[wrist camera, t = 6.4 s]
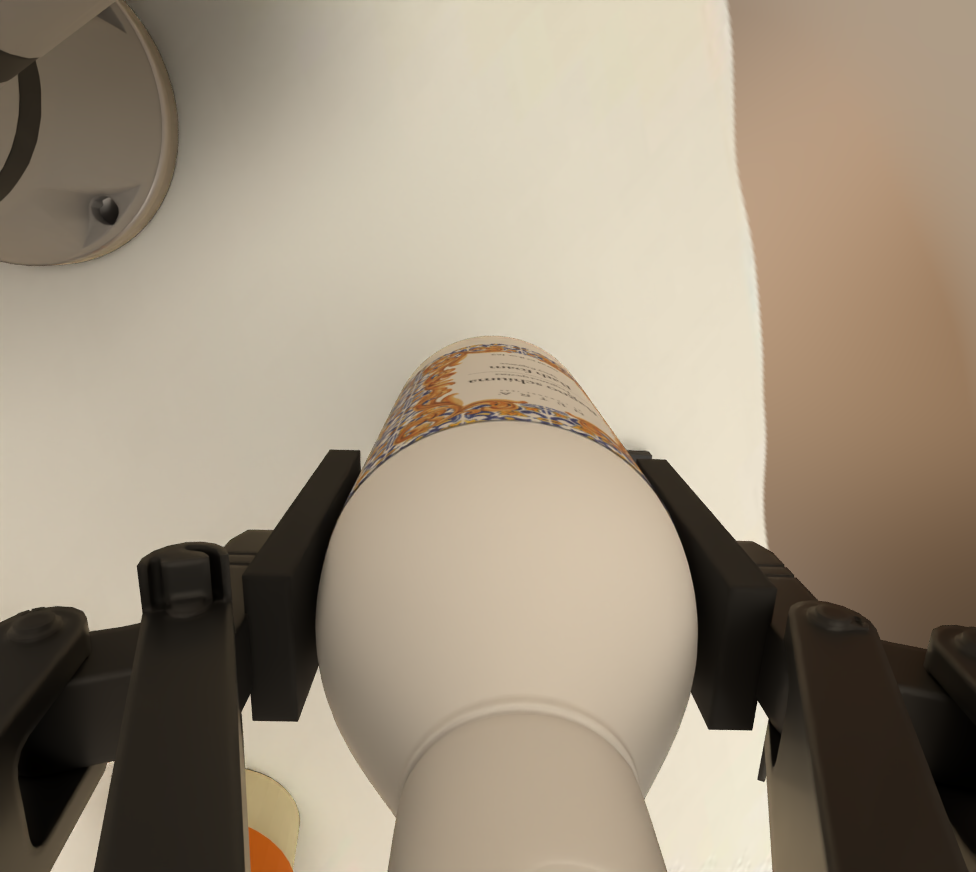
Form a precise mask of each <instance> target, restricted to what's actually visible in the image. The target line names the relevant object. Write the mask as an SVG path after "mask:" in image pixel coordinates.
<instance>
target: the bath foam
mask: <svg viewBox="0 0 976 872" xmlns="http://www.w3.org/2000/svg"><path fill="white" fill-rule="evenodd" d="M315 631H316V648H317V657H318V663H319V668H320V674H321V679H322V683H323V687H324V691H325V694H326V698H327V700H328V703H329V706H330V708H331V711H332V714H333V717H334V719H335V722H336V724H337V726H338V728H339V730H340V732H341V734H342V736H343V738H344V740H345V742H346V744H347V746H348V748H349V750H350V751H351V753H352V755H353V757H354V758H355V760H356V761H357V763H358V764H359V766H360V768H361V769H362V771H363V772H364V774H365V775H366V777H367V778H368V780H369V781H370V782H371V784H372V785H373V787H374V788H375V789H376V791H377V792H378V794H379V795H380V796H381V798H382V799H383V801H384V802H385V803H386V805H387V806H388V807H389V809H390V810H391V811H392V813H393V814H394V815H395V817H396V823H395V828H394V834H393V840H392V847H391V853H390V860H389V866H388V872H667V870H666V866H665V863H664V860H663V857H662V853H661V850H660V847H659V844H658V841H657V837H656V834H655V831H654V828H653V825H652V822H651V818H650V815H649V813H648V810H647V807H646V804H645V801H644V799H645V797H646V795H647V793H648V791H649V790H650V788H651V786H652V784H653V782H654V780H655V778H656V776H657V774H658V772H659V770H660V768H661V766H662V764H663V762H664V760H665V758H666V756H667V754H668V752H669V750H670V748H671V746H672V743H673V741H674V739H675V737H676V734H677V732H678V729H679V727H680V724H681V721H682V718H683V715H684V712H685V710H686V707H687V704H688V700H689V697H690V692H691V688H692V683H693V678H694V673H695V667H696V660H697V642H698V620H697V609H696V599H695V592H694V587H693V582H692V578H691V573H690V569H689V565H688V562H687V558H686V555H685V552H684V549H683V546H682V544H681V541H680V539H679V536H678V533H677V531H676V528H675V525H674V523H673V521H672V518H671V516H670V514H669V512H668V510H667V508H666V507H665V505H664V503H663V502H662V500H661V498H660V497H659V495H658V494H657V493H656V491H655V490H654V488H653V487H652V486H651V484H650V483H649V481H648V480H647V479H646V477H645V476H644V474H643V473H642V472H641V470H640V469H639V467H638V466H637V465H636V463H635V462H634V460H633V459H632V458H631V456H630V455H629V453H628V452H627V451H626V449H625V448H624V446H623V445H622V444H621V442H620V441H619V439H618V438H617V437H616V435H615V434H614V432H613V431H612V430H611V428H610V427H609V425H608V424H607V423H606V421H605V420H604V418H603V417H602V416H601V414H600V413H599V411H598V410H597V409H596V407H595V406H594V404H593V403H592V402H591V400H590V399H589V397H588V396H587V395H586V393H585V392H584V390H583V389H582V388H581V386H580V385H579V384H578V383H577V381H576V380H575V379H574V378H573V376H572V375H571V374H570V372H569V371H568V370H567V369H566V368H565V367H564V366H563V365H562V364H561V363H560V362H559V361H558V360H557V359H556V358H554V357H553V356H552V355H550V354H549V353H547V352H546V351H544V350H543V349H541V348H539V347H537V346H535V345H533V344H530V343H528V342H525V341H522V340H519V339H515V338H510V337H503V336H481V337H474V338H469V339H465V340H461V341H458V342H456V343H453V344H451V345H449V346H446V347H445V348H443V349H441V350H439V351H438V352H436V353H435V354H433V355H432V356H430V357H429V358H428V359H427V360H425V361H424V362H423V363H422V364H421V365H420V366H419V367H418V368H417V369H416V370H415V372H414V373H413V374H412V375H411V377H410V378H409V379H408V381H407V382H406V384H405V386H404V388H403V389H402V391H401V393H400V395H399V397H398V399H397V400H396V402H395V404H394V406H393V408H392V410H391V412H390V414H389V416H388V418H387V420H386V422H385V424H384V426H383V428H382V430H381V432H380V434H379V436H378V438H377V440H376V442H375V444H374V446H373V448H372V450H371V452H370V454H369V456H368V458H367V460H366V462H365V464H364V466H363V468H362V470H361V472H360V474H359V476H358V478H357V480H356V482H355V484H354V486H353V488H352V490H351V492H350V494H349V496H348V498H347V500H346V502H345V504H344V506H343V508H342V510H341V512H340V514H339V516H338V519H337V521H336V523H335V526H334V528H333V531H332V534H331V537H330V540H329V543H328V546H327V549H326V553H325V557H324V562H323V567H322V572H321V577H320V583H319V588H318V595H317V604H316V619H315Z"/></svg>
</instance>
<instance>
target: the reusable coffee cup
mask: <svg viewBox="0 0 976 872" xmlns="http://www.w3.org/2000/svg"><path fill="white" fill-rule="evenodd" d="M245 777H246V795H247V813H248V831H249V849H250V867H251V872H293V865H294V859H295V852H296V845H297V839H298V832H299V824H300V818H299V811H298V809H297V806H296V803H295V801H294V800H293V798H292V797H291V795H290V794H289V793H288V792H287V791H286V790H285V789H284V788H283V787H282V786H281V785H280V784H279V783H277V782H276V781H274V780H273V779H271V778H269V777H267V776H265V775H263V774H261V773H258V772H254V771H251V770H246V769H245Z"/></svg>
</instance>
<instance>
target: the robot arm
mask: <svg viewBox="0 0 976 872" xmlns="http://www.w3.org/2000/svg"><path fill="white" fill-rule="evenodd" d="M177 152H178V117H177V109H176V103H175V98H174V93H173V89H172V85H171V82H170V79H169V76H168V73H167V70H166V68H165V65H164V63H163V60H162V58H161V56H160V54H159V52H158V49H157V47H156V45H155V43H154V42H153V40H152V38H151V37H150V35H149V33H148V32H147V30H146V28H145V27H144V25H143V24H142V23H141V21H140V20H139V19H138V17H137V16H136V14H135V13H134V12H133V11H132V10H131V8H130V7H129V6H128V5H127V4H126V3H125V1H124V0H0V262H5V263H10V264H16V265H26V266H47V265H63V264H73V263H80V262H84V261H89V260H92V259H95V258H98V257H101V256H104V255H106V254H108V253H110V252H112V251H114V250H116V249H118V248H119V247H121V246H123V245H124V244H126V243H127V242H128V241H130V240H131V239H132V238H134V237H135V236H136V235H137V234H138V233H139V232H140V231H141V230H142V229H143V228H144V227H145V226H146V225H147V224H148V222H149V221H150V220H151V219H152V218H153V216H154V215H155V213H156V212H157V210H158V209H159V207H160V205H161V203H162V201H163V199H164V197H165V196H166V194H167V191H168V188H169V186H170V183H171V180H172V177H173V173H174V169H175V164H176V158H177ZM636 465H637V466H638V467H639V469H640V470H641V472H642V473H643V474H644V476H645V477H646V479H647V480H648V481H649V483H650V484H651V486H652V487H653V488H654V490H655V491H656V493H657V494H658V495H659V497H660V498H661V500H662V502H663V503H664V505H665V507H666V508H667V510H668V512H669V514H670V516H671V518H672V521H673V523H674V525H675V528H676V531H677V533H678V536H679V539H680V541H681V544H682V546H683V549H684V552H685V555H686V558H687V562H688V565H689V569H690V573H691V578H692V582H693V587H694V592H695V599H696V609H697V620H698V642H697V660H696V667H695V673H694V678H693V683H692V688H691V693H692V695H693V698H694V700H695V702H696V704H697V706H698V708H699V710H700V712H701V714H702V717H703V719H704V721H705V723H706V725H707V727H708V729H709V730H752V729H753V723H754V718H755V712H756V706H757V701H758V702H759V703H760V705H761V707H762V708H763V710H764V712H765V713H766V715H767V716H768V718H769V720H768V725H767V731H766V736H765V741H764V747H763V752H762V757H761V763H760V768H759V774H758V779H757V780H760V781H763V782H764V781H765V778H766V777H767V793H768V808H769V823H770V839H771V854H772V870H773V872H976V627H964V626H958V625H942V626H940V627H938V628H935V629H933V631H932V634H931V637H930V641H929V645H928V649H923V648H918V647H913V646H908V645H902V644H897V643H892V642H888V641H883V640H880V637H879V635H878V632H877V630H876V628H875V627H874V626H873V624H872V623H871V622H870V621H869V620H868V619H866V618H865V617H863V616H862V615H861V614H859V613H857V612H855V611H853V610H850V609H848V608H846V607H844V606H840V605H836V604H833V603H829V602H822V601H818V600H817V599H816V598H815V597H814V596H813V595H812V594H811V592H810V591H808V589H807V588H806V587H805V586H804V585H803V584H802V583H801V582H800V581H799V580H798V579H797V578H794V575H793V574H792V573H791V571H790V570H789V569H788V568H787V567H784V564H783V563H782V562H781V561H780V560H779V559H778V558H777V557H776V556H775V555H774V553H773V552H771V551H769V550H767V549H765V548H764V547H762V546H760V545H758V544H757V543H755V542H753V541H736V540H735V539H734V538H733V537H732V536H731V534H730V533H729V532H728V531H727V530H726V529H725V528H724V526H723V525H722V524H721V523H720V522H719V521H718V519H717V518H716V517H715V516H714V515H713V514H712V512H711V511H710V510H709V509H708V508H707V507H706V506H705V504H704V503H703V502H702V501H701V500H700V499H699V497H698V496H697V495H696V494H695V493H694V492H693V491H692V489H691V488H690V487H689V486H688V485H687V484H686V482H685V481H684V480H683V479H682V478H681V477H680V475H679V474H678V473H677V472H676V471H675V470H674V469H673V467H672V466H671V465H670V464H669V463H668V462H667V460H660V459H636ZM360 472H361V466H360V450H329V452H328V453H327V455H326V456H325V458H324V459H323V460H322V462H321V463H320V465H319V466H318V468H317V469H316V470H315V472H314V473H313V475H312V476H311V478H310V479H309V480H308V482H307V483H306V485H305V486H304V487H303V489H302V490H301V492H300V493H299V495H298V496H297V497H296V499H295V500H294V502H293V503H292V505H291V506H290V507H289V509H288V510H287V512H286V513H285V515H284V516H283V517H282V519H281V520H280V522H279V523H278V525H277V526H276V527H275V529H274V530H247V531H245V532H243V533H242V534H240V535H238V536H236V537H234V538H233V539H231V540H230V541H229V542H228V543H227V544H226V545H225V547H222V546H220V545H217V544H214V543H207V542H185V543H180V544H175V545H170V546H166V547H164V548H161V549H158V550H155V551H153V552H151V553H150V554H148V555H146V556H145V557H143V558H142V559H141V561H140V562H139V563H138V565H137V571H138V579H139V587H140V595H141V604H142V612H143V614H142V620H141V623H138V624H134V625H129V626H124V627H118V628H111V629H104V630H98V631H91V632H89V628H88V622H87V618H86V616H85V614H84V612H83V611H81V610H78V609H76V608H73V607H61V606H55V607H47V608H45V607H39V608H35V609H32V610H31V611H29V610H27V611H24V612H21V613H18V614H17V615H15V616H13V617H11V618H9V619H6V620H4V621H2V622H0V872H50V871H51V869H52V867H53V865H54V863H55V862H56V860H57V858H58V856H59V854H60V852H61V851H62V849H63V847H64V845H65V843H66V841H67V839H68V838H69V836H70V834H71V832H72V830H73V828H74V827H75V825H76V823H77V821H78V819H79V817H80V816H81V814H82V812H83V810H84V808H85V806H86V804H87V803H88V801H89V799H90V797H91V795H92V793H93V792H94V790H95V788H96V786H97V784H98V782H99V781H100V779H101V777H102V775H103V773H104V771H105V769H106V765H107V762H111V761H115V762H114V767H113V773H112V778H111V783H110V789H109V794H108V799H107V804H106V810H105V815H104V820H103V826H102V831H101V836H100V841H99V847H98V852H97V857H96V863H95V868H94V872H251V867H250V849H249V831H248V813H247V795H246V777H245V759H244V741H243V726H242V714H241V712H242V710H243V708H244V706H245V704H246V702H247V700H248V698H249V696H250V694H251V705H252V718H253V721H293V722H298V720H299V717H300V714H301V712H302V709H303V706H304V704H305V701H306V698H307V696H308V693H309V690H310V688H311V685H312V682H313V679H314V677H315V674H316V671H317V669H318V666H319V663H318V657H317V648H316V631H315V619H316V604H317V595H318V588H319V583H320V577H321V572H322V567H323V562H324V557H325V553H326V549H327V546H328V543H329V540H330V537H331V534H332V531H333V528H334V526H335V523H336V521H337V519H338V516H339V514H340V512H341V510H342V508H343V506H344V504H345V502H346V500H347V498H348V496H349V494H350V492H351V490H352V488H353V486H354V484H355V482H356V480H357V478H358V476H359V474H360Z"/></svg>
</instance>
